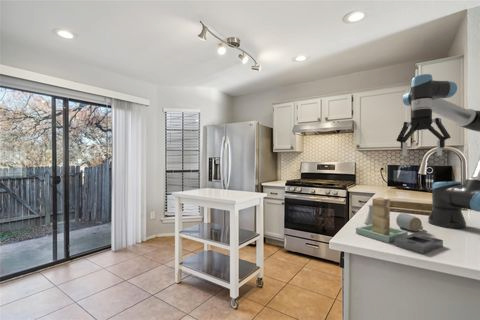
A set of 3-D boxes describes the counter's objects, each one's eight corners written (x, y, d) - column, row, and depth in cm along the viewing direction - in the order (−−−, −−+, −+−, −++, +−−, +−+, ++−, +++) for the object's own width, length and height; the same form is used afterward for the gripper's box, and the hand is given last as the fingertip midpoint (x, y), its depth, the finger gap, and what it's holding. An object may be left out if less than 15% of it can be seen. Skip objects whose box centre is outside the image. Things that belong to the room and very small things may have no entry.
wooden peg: (378, 231, 110) (378, 197, 110) (389, 234, 106) (389, 199, 106) (372, 232, 108) (372, 198, 108) (383, 235, 104) (383, 200, 103)
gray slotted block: (414, 238, 102) (414, 232, 102) (442, 246, 93) (442, 239, 93) (394, 245, 94) (394, 238, 94) (423, 254, 86) (423, 247, 86)
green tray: (374, 228, 117) (374, 223, 117) (407, 237, 104) (407, 231, 104) (355, 233, 110) (355, 227, 110) (388, 243, 97) (388, 237, 97)
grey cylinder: (411, 232, 110) (411, 216, 110) (395, 227, 118) (395, 212, 118) (428, 231, 113) (428, 215, 113) (412, 226, 121) (412, 212, 121)
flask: (377, 222, 128) (377, 204, 128) (381, 226, 121) (381, 207, 121) (362, 221, 130) (362, 204, 130) (365, 225, 123) (365, 206, 123)
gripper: (388, 113, 116) (388, 155, 116) (452, 103, 94) (452, 155, 94) (396, 114, 119) (396, 156, 119) (460, 105, 97) (460, 155, 97)
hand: (421, 155), depth 107 cm, fingers open, 13 cm apart
